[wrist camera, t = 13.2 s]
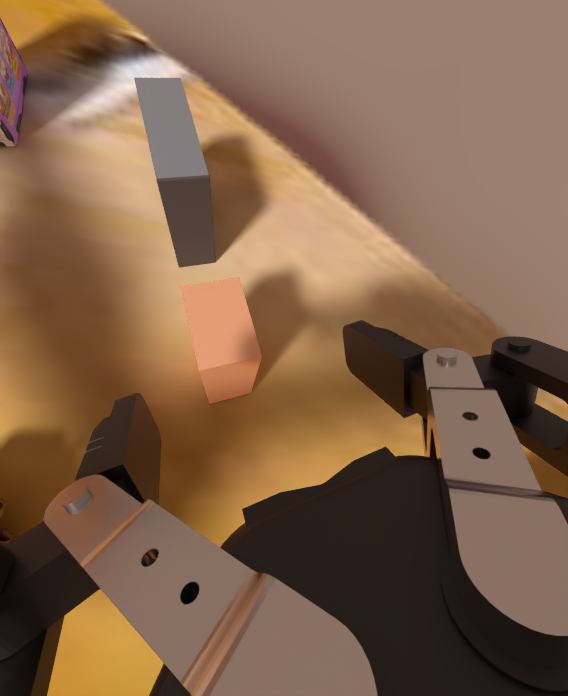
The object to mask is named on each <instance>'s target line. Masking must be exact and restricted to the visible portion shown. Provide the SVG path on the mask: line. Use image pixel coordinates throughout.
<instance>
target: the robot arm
mask: <svg viewBox="0 0 568 696" xmlns="http://www.w3.org/2000/svg"><path fill="white" fill-rule="evenodd" d="M343 338H344V348H345V357H346V363H347V366H348V368H349V370H350V371H351V373H352V374H353V375H355V376H356V377H357V378H358V379H359V380H360V381H362V382H363V383H364V384H365V385H366V386H367V387H369V388H370V389H371V390H372V391H373V392H374V393H376V394H377V395H378V396H379V397H380V398H381V399H383V400H384V401H385V402H386V403H387V404H388V405H390V406H391V407H392V408H393V409H394V410H395V411H397V412H398V413H399V414H400V415H401V416H402V417H404V418H406V417H408V416H410V415H413V414H415V413H418V414H419V415H420V416H422V420H421V424H422V434H423V444H424V455H425V456H415V455H406V456H396V457H395V456H394V455H393V454H392V453H391V452H390V451H389V449H388V448H387V447H384V448H382V449H379V450H377V451H375V452H372V453H370V454H368V455H366V456H363V457H361V458H359V459H356V460H354V461H352V462H351V463H350V464H349V465H347V466H346V467H345V468H343V469H342V470H341V471H339V472H338V473H337V474H336V475H334V476H333V477H332V478H330V479H329V480H328V481H326V482H325V483H323V484H321V485H317V486H312V487H306V488H301V489H296V490H291V491H285V492H280V493H278V494H276V495H274V496H271V497H269V498H267V499H264V500H262V501H260V502H257V503H255V504H253V505H251V506H248V507H246V508H244V509H242V510H243V515H244V519H245V523H244V524H243V525H242V526H240V527H239V528H238V529H237V530H236V531H235V532H234V533H232V534H231V535H230V536H229V538H228V539H227V540H226V541H225V542H224V543H223V544H222V546H221V547H218V546H217V545H215V544H214V543H212V542H211V541H210V540H208V539H207V538H205V537H204V536H202V535H201V534H199V533H198V532H197V531H195V530H194V529H192V528H191V527H189V526H188V525H186V524H185V523H184V522H182V521H181V520H179V519H178V518H176V517H175V516H173V515H172V514H171V513H169V512H168V511H166V510H165V509H163V508H162V507H160V506H159V505H158V500H159V479H160V458H161V438H160V433H159V430H158V428H157V425H156V423H155V421H154V419H153V417H152V415H151V413H150V411H149V409H148V407H147V405H146V403H145V401H144V399H143V397H142V395H141V394H140V393H136V394H133V395H130V396H127V397H124V398H121V399H118V400H116V401H115V404H114V407H113V410H112V413H111V416H110V417H108V418H105V419H103V420H102V421H101V422H100V424H99V425H98V426H97V427H96V428H95V429H94V431H93V433H92V436H91V438H90V441H89V442H90V444H88V447H87V449H86V453H85V455H84V457H83V460H82V463H81V465H80V468H79V471H78V474H77V476H76V479H75V482H74V483H72V484H70V485H69V486H67V487H66V488H65V489H63V490H62V491H61V492H60V493H59V494H58V495H57V496H56V497H55V498H54V499H53V500H52V501H51V502H50V504H49V505H48V507H47V509H46V511H45V513H44V521H43V522H42V523H40V524H39V525H37V526H36V527H34V528H32V529H31V530H29V531H27V532H26V533H24V534H22V535H21V536H19V537H17V538H16V539H14V540H12V541H11V542H9V543H7V544H6V545H5V544H4V543H3V542H2V541H1V540H0V696H47V693H48V688H49V683H50V679H51V674H52V670H53V665H54V661H55V656H56V651H57V647H58V642H59V638H60V633H61V629H62V624H63V619H64V615H66V614H67V613H68V612H70V611H71V610H72V609H74V608H75V607H76V606H78V605H79V604H80V603H82V602H83V601H84V600H86V599H87V598H88V597H89V596H91V595H92V594H93V593H95V592H96V591H97V590H99V589H100V588H101V590H102V591H103V592H104V593H105V594H106V596H107V597H108V598H109V599H110V600H111V601H112V603H113V604H114V605H115V606H116V607H117V608H118V610H119V611H120V612H121V613H122V614H123V615H124V617H125V618H126V619H127V620H128V621H129V623H130V624H131V625H132V626H133V627H134V628H135V630H136V631H137V632H138V633H139V634H140V635H141V637H142V638H143V639H144V640H145V641H146V643H147V644H148V645H149V646H150V647H151V648H152V650H153V651H154V652H155V653H156V654H157V655H158V657H159V658H160V659H161V660H162V661H163V662H164V664H163V666H162V669H161V671H160V673H159V675H158V677H157V679H156V682H155V684H154V686H153V688H152V690H151V693H150V695H149V696H568V498H564V497H561V496H558V495H554V494H551V493H548V492H545V491H542V489H541V488H540V486H539V484H538V481H537V479H536V477H535V475H534V473H533V470H532V468H531V466H530V464H529V462H528V459H527V457H526V455H525V453H524V451H523V448H522V446H521V444H522V445H523V446H525V447H526V448H528V449H529V450H531V451H532V452H533V453H535V454H536V455H538V456H539V457H541V458H542V459H543V460H545V461H546V462H548V463H549V464H551V465H552V466H553V467H555V468H556V469H558V470H559V471H561V472H562V473H563V474H565V475H566V476H568V421H566V420H564V419H562V418H560V417H559V416H557V415H555V414H553V413H551V412H550V411H548V410H546V409H544V408H542V407H540V406H539V405H537V404H535V399H536V394H537V390H538V387H539V388H541V389H543V390H545V391H547V392H549V393H551V394H553V395H555V396H557V397H559V398H561V399H562V400H564V401H565V402H566V403H567V404H568V352H567V351H564V350H562V349H559V348H556V347H553V346H551V345H548V344H545V343H543V342H540V341H537V340H534V339H530V338H524V337H503V338H499V339H497V340H495V341H494V342H493V343H492V349H491V354H490V355H483V356H476V357H471V356H470V355H469V354H468V353H467V352H465V351H462V350H459V349H455V348H435V349H431V350H427V349H425V348H423V347H421V346H419V345H417V344H416V343H414V342H412V341H410V340H408V339H407V340H406V339H405V338H404V337H402V336H400V335H399V336H398V334H396V333H394V332H392V331H390V330H387V329H382V328H378V327H374V326H372V325H370V324H369V323H367V322H365V321H363V320H360V321H357V322H354V323H351V324H348V325H345V326H344V327H343ZM520 443H521V444H520Z"/></svg>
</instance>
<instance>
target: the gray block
mask: <svg viewBox="0 0 568 696" xmlns="http://www.w3.org/2000/svg"><path fill="white" fill-rule="evenodd" d="M134 79H135V84H136V88H137V93H138V97H139V102H140V106H141V111H142V115H143V120H144V125H145V129H146V134H147V138H148V143H149V147H150V152H151V156H152V161H153V165H154V170H155V174H156V179H157V183H158V187H159V191H160V195H161V199H162V203H163V207H164V211H165V215H166V218H167V222H168V226H169V230H170V234H171V238H172V242H173V246H174V250H175V254H176V258H177V262H178V265H179V267H186V266H193V265H200V264H207V263H214V262H215V249H214V234H213V220H212V205H211V190H210V177H209V174H208V170H207V167H206V164H205V160H204V157H203V153H202V150H201V146H200V143H199V139H198V136H197V133H196V129H195V126H194V122H193V119H192V115H191V112H190V109H189V105H188V102H187V98H186V95H185V91H184V88H183V84H182V81H181V78H134Z"/></svg>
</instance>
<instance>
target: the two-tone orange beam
mask: <svg viewBox="0 0 568 696" xmlns="http://www.w3.org/2000/svg"><path fill="white" fill-rule="evenodd" d="M180 288H181V292H182V297H183V301H184V306H185V311H186V315H187V320H188V324H189V329H190V333H191V338H192V342H193V347H194V351H195V356H196V360H197V365H198V369H199V373H200V376H201V379H202V382H203V385H204V388H205V391H206V394H207V398H208V401H209V404H211V403H215V402H219V401H223V400H227V399H231V398H234V397H238V396H242V395H246V394H250V393H251V391H252V388H253V385H254V381H255V378H256V375H257V371H258V368H259V365H260V362H261V358H262V354H261V350H260V347H259V343H258V340H257V337H256V333H255V330H254V326H253V323H252V319H251V316H250V313H249V309H248V306H247V302H246V299H245V295H244V292H243V289H242V285H241V282H240V278H239V277H238V278H231V279H225V280H219V281H213V282H207V283H200V284H194V285H188V286H182V287H180Z"/></svg>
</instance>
